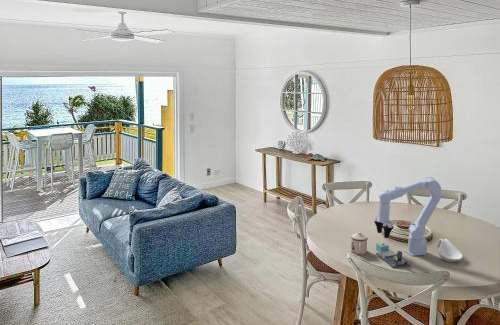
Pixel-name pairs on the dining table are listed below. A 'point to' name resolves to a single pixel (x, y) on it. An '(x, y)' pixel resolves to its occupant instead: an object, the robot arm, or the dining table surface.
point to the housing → (382, 246)
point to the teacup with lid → (359, 243)
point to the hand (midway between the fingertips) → (383, 235)
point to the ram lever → (399, 258)
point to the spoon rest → (448, 251)
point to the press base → (390, 258)
